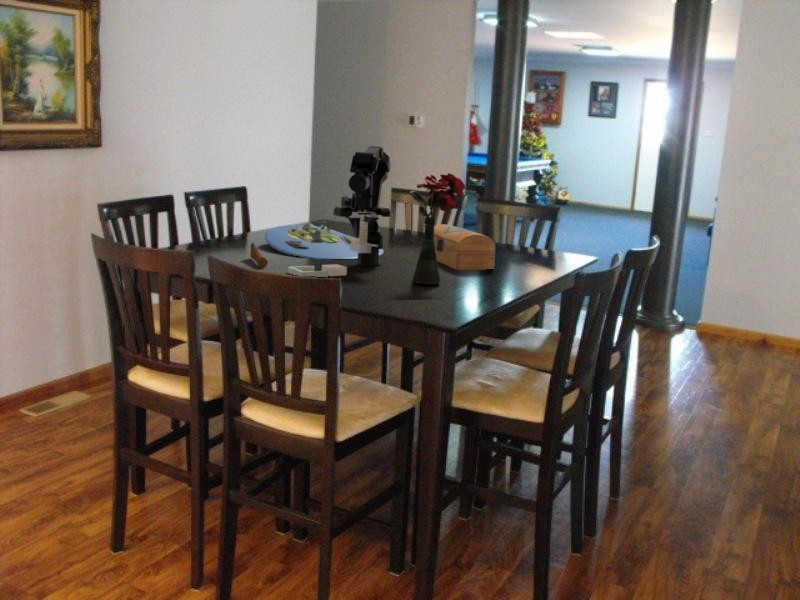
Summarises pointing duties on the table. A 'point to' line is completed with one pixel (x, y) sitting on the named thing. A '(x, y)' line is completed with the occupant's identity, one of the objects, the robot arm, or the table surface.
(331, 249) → the serving platter
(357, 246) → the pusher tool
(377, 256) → the robot arm
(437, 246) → the wooden box
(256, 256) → the primitive tool
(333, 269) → the tile
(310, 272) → the bay
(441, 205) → the carnation
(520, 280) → the table surface
